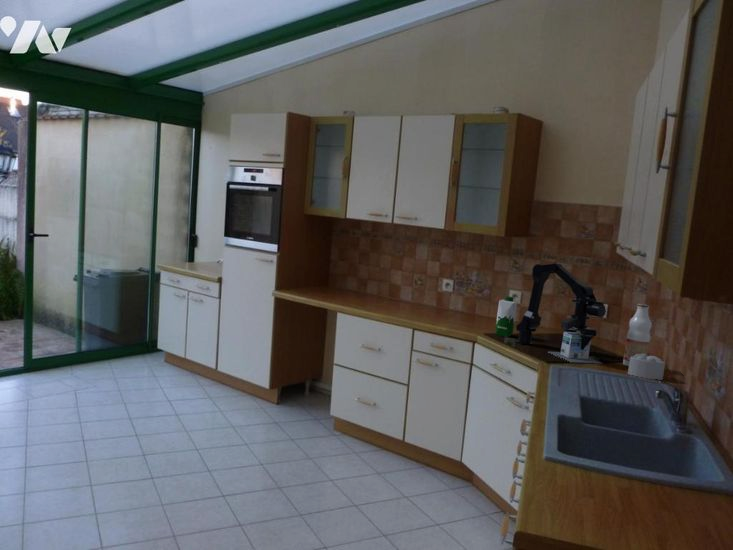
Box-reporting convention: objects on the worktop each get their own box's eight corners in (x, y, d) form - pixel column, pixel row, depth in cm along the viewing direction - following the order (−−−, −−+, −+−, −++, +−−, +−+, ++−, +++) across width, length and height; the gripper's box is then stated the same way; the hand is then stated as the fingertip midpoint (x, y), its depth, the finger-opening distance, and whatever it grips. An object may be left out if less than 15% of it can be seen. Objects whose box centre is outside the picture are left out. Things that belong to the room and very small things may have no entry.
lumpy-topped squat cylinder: (665, 380, 250) (668, 360, 249) (633, 377, 250) (637, 356, 249) (653, 374, 261) (656, 354, 260) (623, 371, 260) (626, 351, 260)
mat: (548, 352, 283) (548, 351, 283) (577, 354, 287) (577, 353, 287) (570, 362, 265) (571, 361, 265) (602, 364, 270) (602, 362, 270)
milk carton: (514, 335, 319) (519, 298, 317) (509, 337, 311) (514, 299, 309) (497, 332, 323) (502, 295, 321) (492, 334, 315) (497, 296, 313)
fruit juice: (634, 368, 267) (644, 305, 265) (618, 363, 276) (627, 302, 273) (650, 368, 271) (659, 306, 268) (633, 363, 280) (642, 303, 277)
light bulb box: (568, 358, 272) (571, 334, 271) (559, 354, 278) (562, 331, 277) (588, 359, 275) (592, 335, 274) (579, 355, 281) (583, 332, 280)
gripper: (553, 308, 281) (548, 341, 283) (578, 316, 263) (572, 351, 265) (574, 310, 284) (569, 343, 286) (599, 317, 266) (594, 352, 268)
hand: (575, 347), depth 276 cm, fingers open, 9 cm apart
